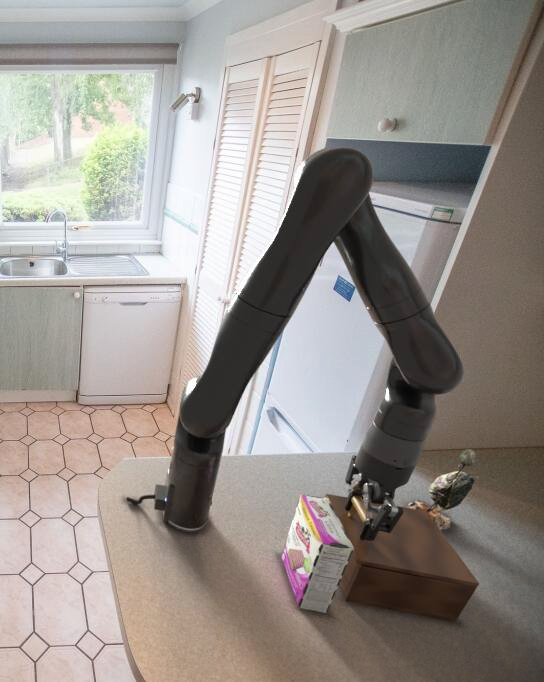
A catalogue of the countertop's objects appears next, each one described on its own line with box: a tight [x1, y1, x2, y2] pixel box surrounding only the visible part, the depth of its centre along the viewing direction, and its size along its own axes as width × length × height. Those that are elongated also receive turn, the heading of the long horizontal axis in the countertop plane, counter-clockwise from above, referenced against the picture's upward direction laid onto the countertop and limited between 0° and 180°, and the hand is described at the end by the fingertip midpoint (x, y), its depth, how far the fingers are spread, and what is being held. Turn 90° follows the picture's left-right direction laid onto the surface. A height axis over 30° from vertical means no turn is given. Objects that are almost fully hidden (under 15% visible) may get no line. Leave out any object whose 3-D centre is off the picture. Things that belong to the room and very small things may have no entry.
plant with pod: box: [405, 448, 480, 531], centre depth 94 cm, size 8×11×20 cm
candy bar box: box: [280, 494, 354, 614], centre depth 80 cm, size 11×5×16 cm, turn 168°
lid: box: [324, 493, 480, 588], centre depth 81 cm, size 18×16×6 cm
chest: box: [338, 554, 478, 623], centre depth 84 cm, size 17×16×9 cm
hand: (357, 523), depth 82 cm, fingers closed on lid, 6 cm apart
